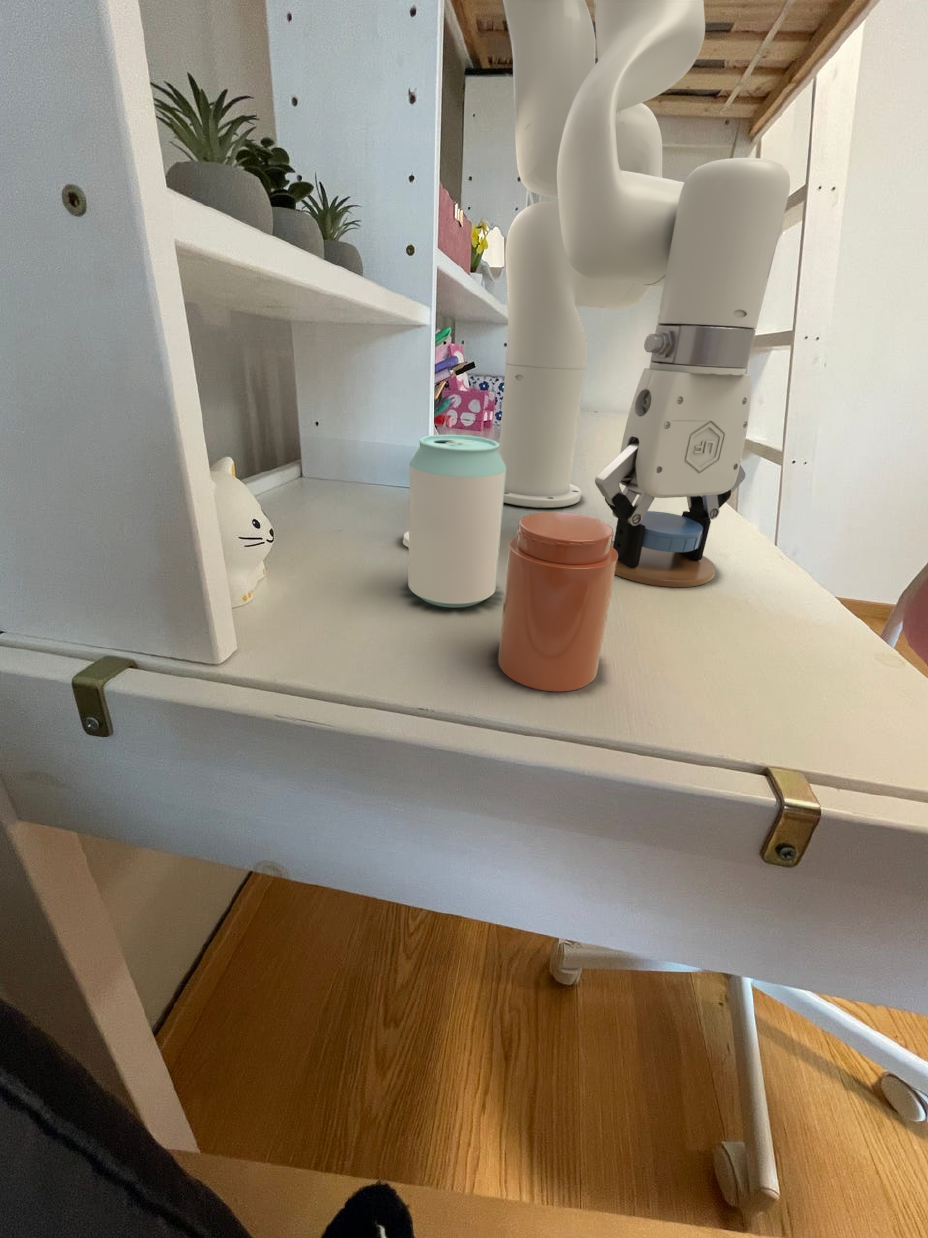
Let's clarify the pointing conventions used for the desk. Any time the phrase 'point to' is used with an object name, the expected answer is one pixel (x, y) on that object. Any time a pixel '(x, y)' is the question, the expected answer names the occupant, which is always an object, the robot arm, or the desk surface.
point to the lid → (671, 532)
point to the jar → (556, 600)
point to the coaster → (667, 569)
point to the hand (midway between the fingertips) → (656, 557)
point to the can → (455, 519)
